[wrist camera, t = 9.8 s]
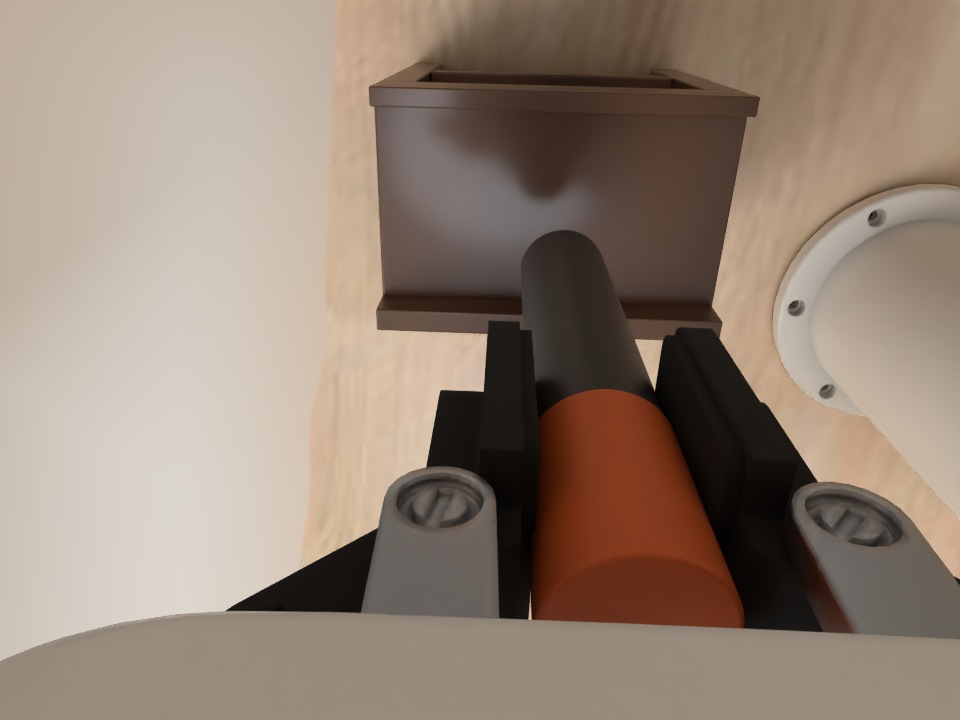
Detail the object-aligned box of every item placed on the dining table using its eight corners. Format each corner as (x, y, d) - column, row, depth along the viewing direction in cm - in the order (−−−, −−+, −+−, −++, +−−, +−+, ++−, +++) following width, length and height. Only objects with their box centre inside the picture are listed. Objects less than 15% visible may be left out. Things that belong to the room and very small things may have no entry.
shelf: (676, 69, 31) (767, 98, 20) (653, 239, 35) (718, 342, 24) (415, 62, 32) (365, 87, 21) (418, 231, 35) (377, 330, 24)
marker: (610, 228, 18) (767, 559, 7) (601, 311, 19) (726, 710, 8) (520, 225, 18) (539, 550, 7) (516, 308, 19) (527, 700, 8)
